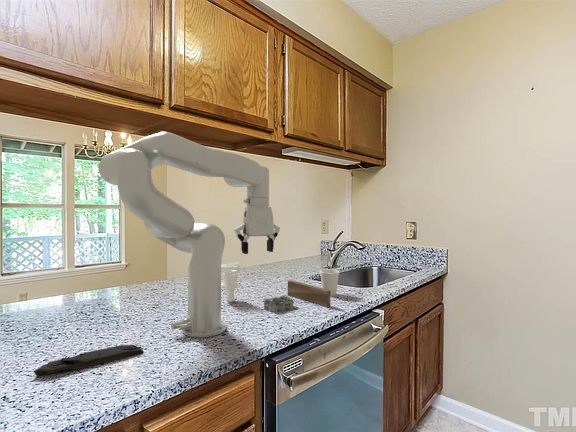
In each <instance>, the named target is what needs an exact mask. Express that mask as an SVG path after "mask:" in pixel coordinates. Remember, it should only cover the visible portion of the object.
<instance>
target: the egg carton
mask: <svg viewBox="0 0 576 432" xmlns="http://www.w3.org/2000/svg"><path fill="white" fill-rule="evenodd" d="M295 302H296V300H293V298H291V297H290V296H288V295H286V294H283V295H281V296H275V297H271V298H264V299H263V300H262V303H263V309H264V310H268V312H269V311H270V313H271V312H272V313H276V312H278V311H285V310H286V309H289V310H292V309H293V308H294V304H295Z"/></svg>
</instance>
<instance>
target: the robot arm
mask: <svg viewBox="0 0 576 432" xmlns="http://www.w3.org/2000/svg"><path fill="white" fill-rule="evenodd" d="M164 165H166V166H169V167H173V168H176V169H179V170H182V171H185V172H188V173H191V174H194V175H196V176H201V177H209V178H223V180H224V181H225V183H226V184H227V185H228V186H230V187H233V188H244V187H246V198H244V199H243V204H246V206H245V207H244V211H243V219H242V224H240V225H239V226H237V227H235V228H234V229H233V232H234V233H235V236H236V238H237V239H239V241H240V242H241V243H240V244H241V249H240V250H241V253H242V254H244V255H248V254H249V242H248V240H249V238H250V237H266V238H267V239H266V251H267V252H270V253H273V252H274V246H275V245H274V241H275V240H276V238H277V237H278V235H279V232H280V230H281V227H279V226H277V225H276V224H275V223H274V216H273V209H272V207H271V206H270V170H269V168H268V167H267V166H262V165H261V164H259V162H256V161H255V160H253V159H251V158H249V157H246V156H244V155H240V154H238V153H234V152H233V153H232V152H228V151H224V150H220V149H216V148H211V147H207V146H205V145H202V144H200V143H198V142H195V141H193V140H190V139H187V138H185V137H184V136H180V135H178V134H176V133H173V132H168V131H160V132H158V133H154V134H151V135H147V136H145V137H143V138H141V139H139V140H137V141H135V142H133V143H130V144H128V145H126V146H124V147H120V148H119V149H115V150H114V151H112V152H109V153H107V154H105V155H104V156H103V157H102V158H101V160H100V162H99V164H98V173H99V175H100V176H101V178H102V179H103V181H105V182H106V183H108V184H110V185H113V186H117V190H118V194H119V196H120V199H121V202H122V204H123V205H124V207H125V208H126V209H127V210H128V211H129V212H130V213H131V214H133V216H136V217H137V218H139V219H140V220H141V221H143V223H144V227H145V229H146V230H147V232H148V233H149V234H150V235H151V236H153V237H155V238H156V239H158V240H160V241H162V242H163V243H165V244H167V245H169V246H171V247H173V248H174V249H176V250H179V251H180V252H183V253H186V254H192V255H191V257H190V261H189V264H188V267H187V268H188V269H187V315H184V318H182V319H181V320H180V321H179V320H177V321H172V322H171V323H170V328H171V330H176V329H179V331H181V332H182V334H184V335H185V336H187V337H189V338H209V337H215V336H217V335H220V334H222V333H223V332H225V331H226V329H227V323H226V322H225V321H223V320H222V288H221V284H222V269H221V265H223V264H222V262H223V260H222V259H223V254H224V249H225V245H226V244H225V243H226V240H225V239H226V238H225V233H224V232H223V230H222V229H221V228H220V227H219V226H218V225H215V224H212V223H207V222H195V219H194V215H193V214H192V213H191V212H190V211H189V210H188V209H187V208H185V207H184V206H183V205H181V204H180V203H178V202H176V201H175V200H173V199H172V198H170V197H168V196H167V195H165V194H164V193H163V192H161V190H159V189H158V188H157V187H156V185H155V183H154V181H153V176H152V169H154V168H157V167H158V166H164ZM241 231H242V233H243V234H242V233H241Z"/></svg>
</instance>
